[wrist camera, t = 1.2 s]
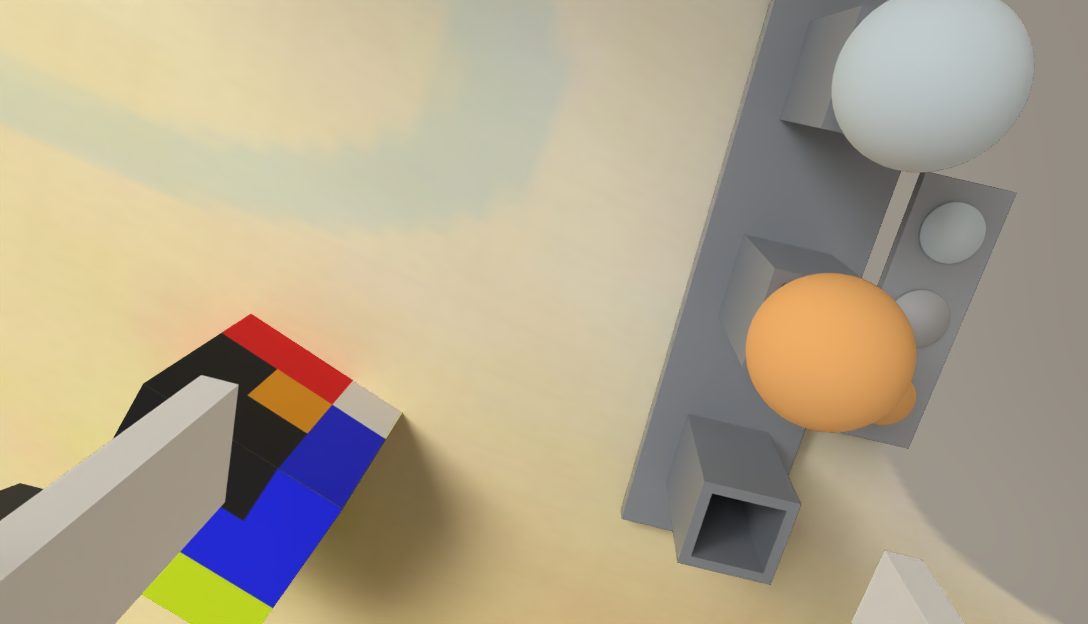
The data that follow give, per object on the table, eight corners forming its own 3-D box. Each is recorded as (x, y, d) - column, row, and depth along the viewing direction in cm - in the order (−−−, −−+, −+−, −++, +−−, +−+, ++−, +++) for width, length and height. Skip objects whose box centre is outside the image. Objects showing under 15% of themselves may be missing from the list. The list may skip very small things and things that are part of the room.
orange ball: (758, 241, 30) (795, 279, 24) (903, 275, 30) (974, 321, 24) (716, 375, 32) (740, 439, 26) (852, 407, 31) (907, 479, 26)
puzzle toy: (402, 412, 42) (342, 509, 32) (318, 532, 45) (240, 653, 35) (251, 313, 41) (143, 383, 31) (175, 442, 44) (55, 543, 34)
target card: (921, 170, 35) (927, 172, 35) (1010, 191, 35) (1019, 193, 35) (824, 424, 40) (828, 431, 39) (903, 443, 40) (909, 450, 39)
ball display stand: (785, -52, 33) (839, -92, 26) (959, -12, 33) (1064, -40, 25) (621, 509, 42) (624, 602, 35) (756, 541, 42) (789, 642, 35)
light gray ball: (843, -22, 27) (907, -51, 21) (1004, 15, 27) (1114, -3, 21) (790, 143, 28) (836, 158, 23) (941, 178, 28) (1025, 202, 23)
